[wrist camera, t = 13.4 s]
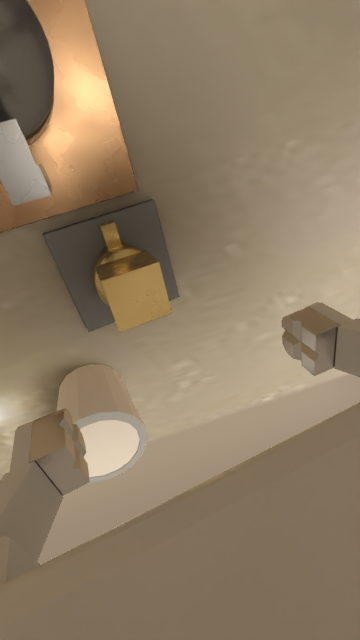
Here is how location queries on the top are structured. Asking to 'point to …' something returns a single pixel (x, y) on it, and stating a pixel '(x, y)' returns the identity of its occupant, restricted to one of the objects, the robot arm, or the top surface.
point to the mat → (87, 242)
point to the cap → (129, 281)
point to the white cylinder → (103, 419)
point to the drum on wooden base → (55, 114)
